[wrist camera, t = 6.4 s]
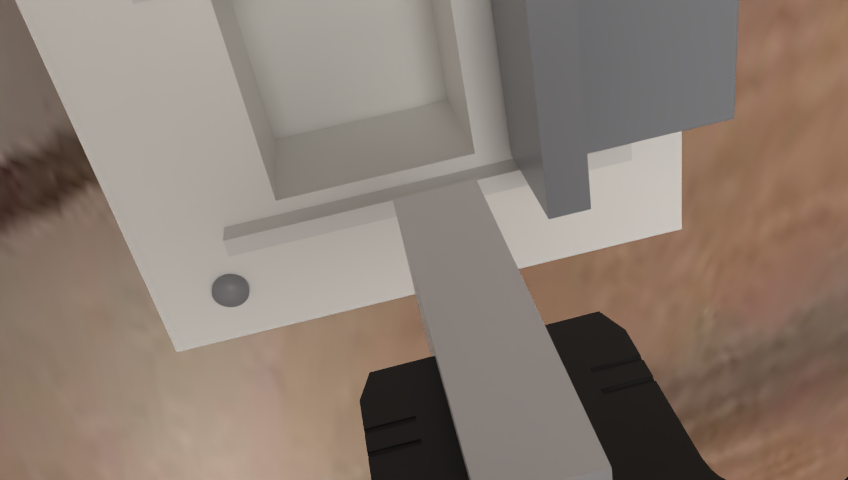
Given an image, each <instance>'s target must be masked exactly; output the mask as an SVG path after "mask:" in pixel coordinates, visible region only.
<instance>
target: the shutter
mask: <svg viewBox="0 0 848 480" xmlns="http://www.w3.org/2000/svg"><path fill="white" fill-rule="evenodd" d="M491 2H492V10H493V17H494V25H495V33H496V40H497V48H498V56H499V63H500V71H501V78H502V86H503V94H504V101H505V109H506V117H507V124H508V132H509V140H510V147H511V155H512V157H513V159H514V160H515V162H516V164H517V166H518V167H519V169H520V171H521V172H522V174H523V176H524V178H525V179H526V181H527V183H528V184H529V186H530V188H531V190H532V191H533V193H534V195H535V197H536V198H537V200H538V202H539V203H540V205H541V207H542V209H543V210H544V212H545V214H546V215H547V217H548V219H552V218H556V217H561V216H565V215H569V214H573V213H577V212H581V211H585V210H590V209H591V200H590V186H589V172H588V158H587V154H588V153H592V152H596V151H600V150H604V149H609V148H613V147H617V146H621V145H625V144H630V143H634V142H638V141H642V140H646V139H650V138H655V137H659V136H663V135H667V134H671V133H676V132H680V131H684V130H688V129H692V128H697V127H701V126H705V125H709V124H713V123H717V122H722V121H726V120H730V119H734V106H735V81H736V55H737V30H738V5H739V0H491Z"/></svg>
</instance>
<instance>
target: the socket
mask: <svg viewBox="0 0 848 480" xmlns="http://www.w3.org/2000/svg"><path fill="white" fill-rule="evenodd" d="M15 1H16V3H17V5H18V8H19V10H20V12H21V14H22V16H23V18H24V21H25V23H26V25H27V27H28V29H29V31H30V34H31V36H32V38H33V40H34V42H35V45H36V47H37V49H38V51H39V53H40V55H41V58H42V60H43V62H44V64H45V66H46V69H47V71H48V73H49V75H50V77H51V79H52V82H53V84H54V86H55V88H56V90H57V93H58V95H59V97H60V99H61V101H62V103H63V106H64V108H65V110H66V112H67V114H68V116H69V119H70V121H71V123H72V125H73V127H74V130H75V132H76V134H77V136H78V138H79V140H80V143H81V145H82V147H83V149H84V151H85V154H86V156H87V158H88V160H89V162H90V164H91V167H92V169H93V171H94V173H95V175H96V177H97V180H98V182H99V184H100V186H101V188H102V191H103V193H104V195H105V197H106V199H107V201H108V204H109V206H110V208H111V210H112V212H113V215H114V217H115V219H116V221H117V223H118V225H119V228H120V230H121V232H122V234H123V236H124V239H125V241H126V243H127V245H128V247H129V249H130V252H131V254H132V256H133V258H134V260H135V262H136V265H137V267H138V269H139V271H140V273H141V276H142V278H143V280H144V282H145V284H146V286H147V289H148V291H149V293H150V295H151V297H152V300H153V302H154V304H155V306H156V308H157V310H158V313H159V315H160V317H161V319H162V321H163V324H164V326H165V328H166V330H167V332H168V334H169V337H170V339H171V341H172V343H173V345H174V347H175V350H176V352H180V351H184V350H188V349H192V348H197V347H201V346H205V345H209V344H213V343H217V342H221V341H225V340H229V339H233V338H237V337H242V336H246V335H250V334H254V333H258V332H262V331H266V330H270V329H274V328H278V327H283V326H287V325H291V324H295V323H299V322H303V321H307V320H311V319H315V318H319V317H323V316H328V315H332V314H336V313H340V312H344V311H348V310H352V309H356V308H360V307H364V306H369V305H373V304H377V303H381V302H385V301H389V300H393V299H397V298H401V297H405V296H409V295H414V294H415V290H414V286H413V282H412V277H411V273H410V269H409V265H408V261H407V256H406V252H405V248H404V244H403V240H402V236H401V231H400V227H399V223H398V219H397V215H396V211H395V206H394V202H393V199H395V198H399V197H403V196H407V195H411V194H416V193H420V192H424V191H428V190H432V189H436V188H440V187H444V186H448V185H452V184H456V183H460V182H464V181H468V180H472V179H476V180H477V182H478V184H479V186H480V188H481V191H482V193H483V195H484V197H485V199H486V201H487V203H488V205H489V208H490V210H491V212H492V214H493V216H494V218H495V220H496V222H497V225H498V227H499V229H500V231H501V233H502V235H503V237H504V240H505V242H506V244H507V246H508V248H509V250H510V252H511V254H512V257H513V259H514V261H515V263H516V265H517V267H518V269H520V268H524V267H528V266H532V265H536V264H541V263H545V262H549V261H553V260H557V259H561V258H565V257H569V256H573V255H577V254H582V253H586V252H590V251H594V250H598V249H602V248H606V247H610V246H614V245H618V244H622V243H627V242H631V241H635V240H639V239H643V238H647V237H651V236H655V235H659V234H663V233H668V232H672V231H676V230H680V229H682V131H680V132H676V133H671V134H667V135H663V136H659V137H655V138H650V139H646V140H642V141H638V142H634V143H630V144H625V145H621V146H617V147H613V148H609V149H604V150H600V151H596V152H592V153H588V154H587V158H588V172H589V186H590V200H591V209H590V210H585V211H581V212H577V213H573V214H569V215H565V216H561V217H556V218H552V219H548V217H547V215H546V214H545V212H544V210H543V209H542V207H541V205H540V203H539V202H538V200H537V198H536V197H535V195H534V193H533V191H532V190H531V188H530V186H529V184H528V183H527V181H526V179H525V178H524V176H523V174H522V172H521V171H520V169H519V167H518V166H517V164H516V162H515V160H514V159H513V157H512V155H511V147H510V140H509V132H508V124H507V117H506V109H505V101H504V94H503V86H502V78H501V71H500V63H499V56H498V48H497V40H496V33H495V25H494V17H493V10H492V2H491V0H15Z"/></svg>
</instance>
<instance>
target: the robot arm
mask: <svg viewBox="0 0 848 480" xmlns="http://www.w3.org/2000/svg"><path fill="white" fill-rule="evenodd" d="M393 202H394V206H395V211H396V215H397V219H398V223H399V227H400V231H401V236H402V240H403V244H404V248H405V252H406V256H407V261H408V265H409V269H410V273H411V277H412V282H413V286H414V290H415V294H416V298H417V302H418V307H419V311H420V315H421V319H422V323H423V326H424V330H425V334H426V337H427V341H428V345H429V348H430V352H431V356H432V357H428V358H424V359H421V360H417V361H413V362H409V363H405V364H401V365H397V366H393V367H389V368H386V369H382V370H378V371H374V372H370V373H369V376H368V379H367V382H366V385H365V387H364V390H363V393H362V396H361V399H360V406H361V412H362V419H363V426H364V431H365V439H366V446H367V452H368V456H369V458H368V459H369V466H370V473H371V479H372V480H725V479H723V478H722V477H720V476H718V475H717V474H716V473H715V472H713V471H712V470H711V469H710V468H709V466H708V465H707V464H706V463H705V461H704V460H703V459H702V457H701V456H700V454H699V453H698V451H697V449H696V447H695V446H694V444H693V442H692V441H691V439H690V437H689V436H688V434H687V432H686V431H685V429H684V427H683V426H682V424H681V422H680V421H679V419H678V417H677V416H676V414H675V412H674V411H673V409H672V407H671V406H670V404H669V402H668V401H667V399H666V397H665V396H664V394H663V392H662V391H661V389H660V387H659V385H658V384H657V382H656V381H654V379H653V375H652V374H651V372H650V370H649V369H648V367H647V365H646V364H645V362H644V360H642V359H641V356H640V354H639V352H638V350H637V349H636V347H635V345H634V344H633V342H632V340H631V339H630V337H629V335H628V334H627V332H626V330H625V329H623V328H622V327H620V326H619V325H618V324H616V323H615V322H613V321H612V320H610V319H609V318H608V317H606V316H605V315H603V314H602V313H600V312H595V313H591V314H587V315H583V316H579V317H575V318H571V319H568V320H564V321H560V322H556V323H552V324H548V325H544V323H543V320H542V318H541V316H540V314H539V312H538V310H537V308H536V306H535V303H534V301H533V299H532V297H531V295H530V293H529V291H528V288H527V286H526V284H525V282H524V280H523V278H522V276H521V274H520V271H519V269H518V267H517V265H516V263H515V261H514V259H513V257H512V254H511V252H510V250H509V248H508V246H507V244H506V242H505V240H504V237H503V235H502V233H501V231H500V229H499V227H498V225H497V222H496V220H495V218H494V216H493V214H492V212H491V210H490V208H489V205H488V203H487V201H486V199H485V197H484V195H483V193H482V191H481V188H480V186H479V184H478V182H477V180H476V179H472V180H468V181H464V182H460V183H456V184H452V185H448V186H444V187H440V188H436V189H432V190H428V191H424V192H420V193H416V194H411V195H407V196H403V197H399V198H395V199H393ZM845 480H848V477H847V478H846V479H845Z"/></svg>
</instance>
